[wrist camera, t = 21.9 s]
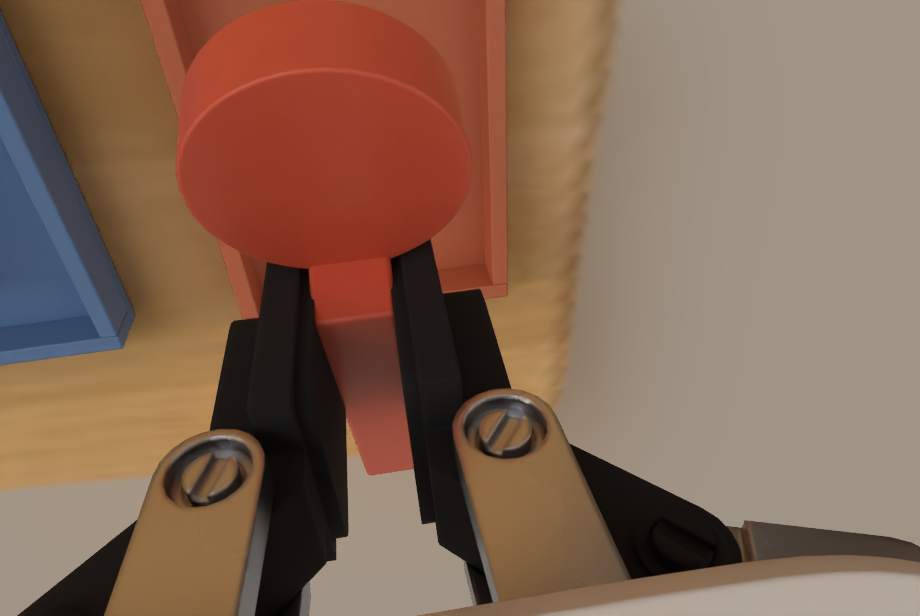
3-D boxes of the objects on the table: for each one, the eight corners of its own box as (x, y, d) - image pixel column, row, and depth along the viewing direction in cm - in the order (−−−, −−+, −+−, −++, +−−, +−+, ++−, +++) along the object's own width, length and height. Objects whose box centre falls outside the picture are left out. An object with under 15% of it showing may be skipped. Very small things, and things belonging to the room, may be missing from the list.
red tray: (86, -243, 16) (60, -248, 14) (487, -266, 17) (504, -272, 15) (250, 299, 26) (246, 332, 24) (497, 267, 27) (508, 296, 25)
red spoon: (456, 375, 17) (471, 461, 15) (309, 396, 16) (314, 485, 15) (460, -17, 8) (495, 120, 6) (132, 13, 7) (110, 163, 6)
